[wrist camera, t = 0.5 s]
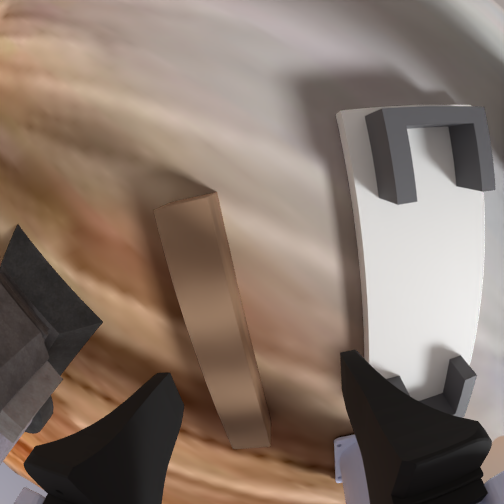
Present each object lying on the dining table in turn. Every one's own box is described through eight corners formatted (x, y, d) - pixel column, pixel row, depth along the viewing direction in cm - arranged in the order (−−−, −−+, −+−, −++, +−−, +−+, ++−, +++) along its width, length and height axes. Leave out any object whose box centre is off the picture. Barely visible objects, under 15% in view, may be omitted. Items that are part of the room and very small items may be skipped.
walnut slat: (271, 418, 25) (270, 446, 21) (236, 421, 25) (232, 449, 22) (217, 191, 20) (207, 197, 16) (171, 201, 20) (153, 209, 16)
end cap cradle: (456, 385, 23) (475, 414, 19) (363, 414, 24) (374, 450, 20) (460, 107, 16) (497, 100, 12) (335, 114, 17) (354, 100, 13)
